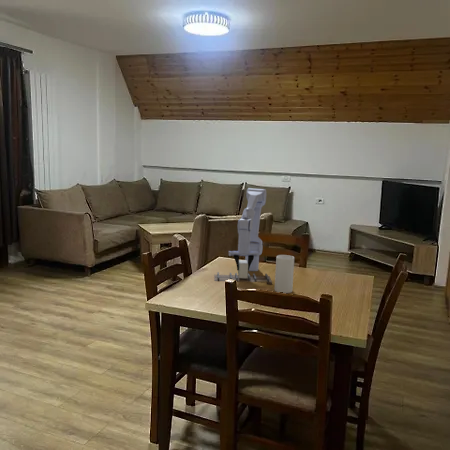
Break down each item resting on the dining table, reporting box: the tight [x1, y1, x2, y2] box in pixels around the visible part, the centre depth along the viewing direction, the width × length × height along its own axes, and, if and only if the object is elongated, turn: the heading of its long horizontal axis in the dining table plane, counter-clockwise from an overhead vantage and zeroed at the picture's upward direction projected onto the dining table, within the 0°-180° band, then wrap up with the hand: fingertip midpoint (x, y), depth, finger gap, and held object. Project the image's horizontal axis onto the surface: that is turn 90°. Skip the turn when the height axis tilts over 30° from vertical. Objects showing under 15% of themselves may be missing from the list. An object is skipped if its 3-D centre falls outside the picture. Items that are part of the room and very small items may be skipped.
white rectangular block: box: [237, 259, 249, 278], centre depth 224 cm, size 8×4×7 cm, turn 2°
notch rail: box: [213, 271, 273, 285], centre depth 225 cm, size 11×28×2 cm, turn 92°
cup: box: [274, 254, 295, 294], centre depth 210 cm, size 8×8×16 cm
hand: (243, 270), depth 224 cm, fingers closed on white rectangular block, 4 cm apart
